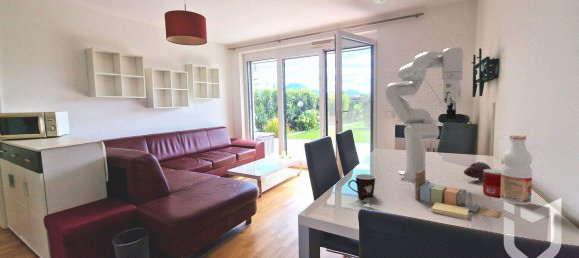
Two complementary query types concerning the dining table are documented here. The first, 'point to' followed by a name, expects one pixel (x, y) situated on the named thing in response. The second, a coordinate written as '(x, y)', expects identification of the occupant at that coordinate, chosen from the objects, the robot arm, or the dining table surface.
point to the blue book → (426, 192)
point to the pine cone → (476, 170)
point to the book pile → (451, 210)
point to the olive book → (438, 194)
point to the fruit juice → (516, 173)
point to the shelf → (421, 180)
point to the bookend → (462, 199)
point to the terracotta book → (451, 196)
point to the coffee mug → (364, 185)
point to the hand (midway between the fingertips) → (451, 118)
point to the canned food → (492, 182)
